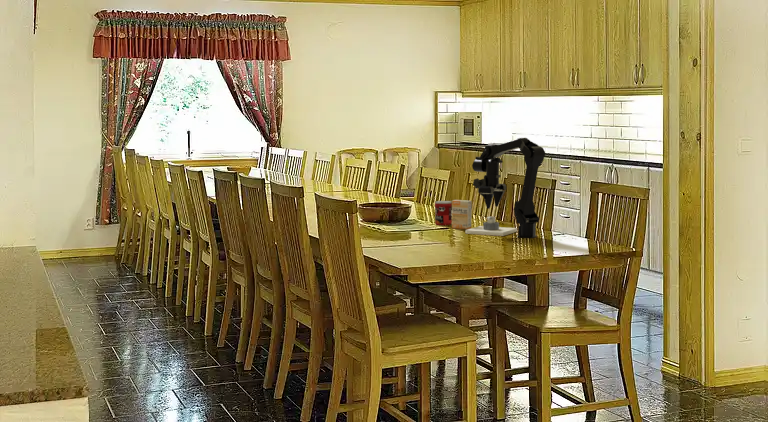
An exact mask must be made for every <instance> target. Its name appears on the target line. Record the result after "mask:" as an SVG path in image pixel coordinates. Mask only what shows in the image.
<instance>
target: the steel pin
mask: <svg viewBox="0 0 768 422" xmlns="http://www.w3.org/2000/svg"><path fill="white" fill-rule="evenodd" d="M486 219H487V220H486V222H487V223H495V222H496V216H487V217H486Z"/></svg>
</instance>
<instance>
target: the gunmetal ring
mask: <svg viewBox="0 0 768 422" xmlns="http://www.w3.org/2000/svg"><path fill="white" fill-rule="evenodd" d="M482 226H483V229H484V230H499V227H500V222H499V221H495V223H487V221H484V222H483V225H482Z"/></svg>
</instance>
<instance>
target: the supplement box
mask: <svg viewBox="0 0 768 422" xmlns="http://www.w3.org/2000/svg"><path fill="white" fill-rule="evenodd" d="M451 202H452V224H451V229H457V230H459V229H460V230H468V229H471V228H472V214H473V213H472V208H473V207H472V206H473V205H472V200H465V199H464V200H463V199H453V200H451Z"/></svg>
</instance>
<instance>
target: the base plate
mask: <svg viewBox="0 0 768 422" xmlns="http://www.w3.org/2000/svg"><path fill="white" fill-rule="evenodd" d="M464 230H465V234H469V235H482V236H483V235H484V236H498V237H500V236H501V237H504V236H507V235H510V234H513V233H514V234H515V233H517V232H518V228H517V227H503V226H502V227H501V226H499V230H484V229H483V225H478V226H476V227H471V228H470V229H464Z"/></svg>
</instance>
